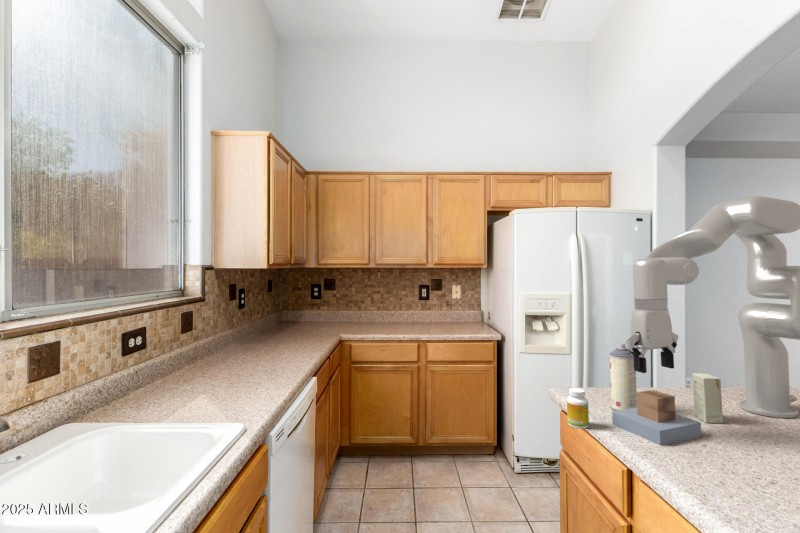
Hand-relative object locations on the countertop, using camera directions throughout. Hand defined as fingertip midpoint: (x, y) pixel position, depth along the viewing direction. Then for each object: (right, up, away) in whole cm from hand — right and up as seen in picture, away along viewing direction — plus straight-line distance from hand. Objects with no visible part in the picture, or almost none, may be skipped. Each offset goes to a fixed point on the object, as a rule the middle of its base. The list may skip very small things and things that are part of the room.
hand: (654, 369), depth 104 cm
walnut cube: (0, -13, 0) cm, 13 cm away
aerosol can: (0, -16, +15) cm, 22 cm away
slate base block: (0, -17, 0) cm, 17 cm away
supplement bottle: (-18, -17, +4) cm, 25 cm away
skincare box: (+19, -16, +6) cm, 25 cm away
